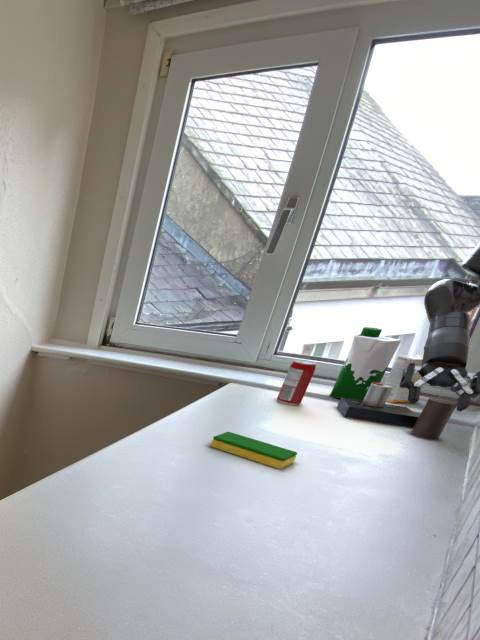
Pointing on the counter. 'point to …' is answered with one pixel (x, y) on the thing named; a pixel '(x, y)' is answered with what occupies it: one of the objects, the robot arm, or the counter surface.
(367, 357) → the milk carton
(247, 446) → the dish sponge
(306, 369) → the soda can
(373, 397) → the hob knob
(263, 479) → the counter surface
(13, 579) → the counter surface
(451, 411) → the dark brown cylinder
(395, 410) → the panel
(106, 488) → the counter surface
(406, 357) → the supplement box
